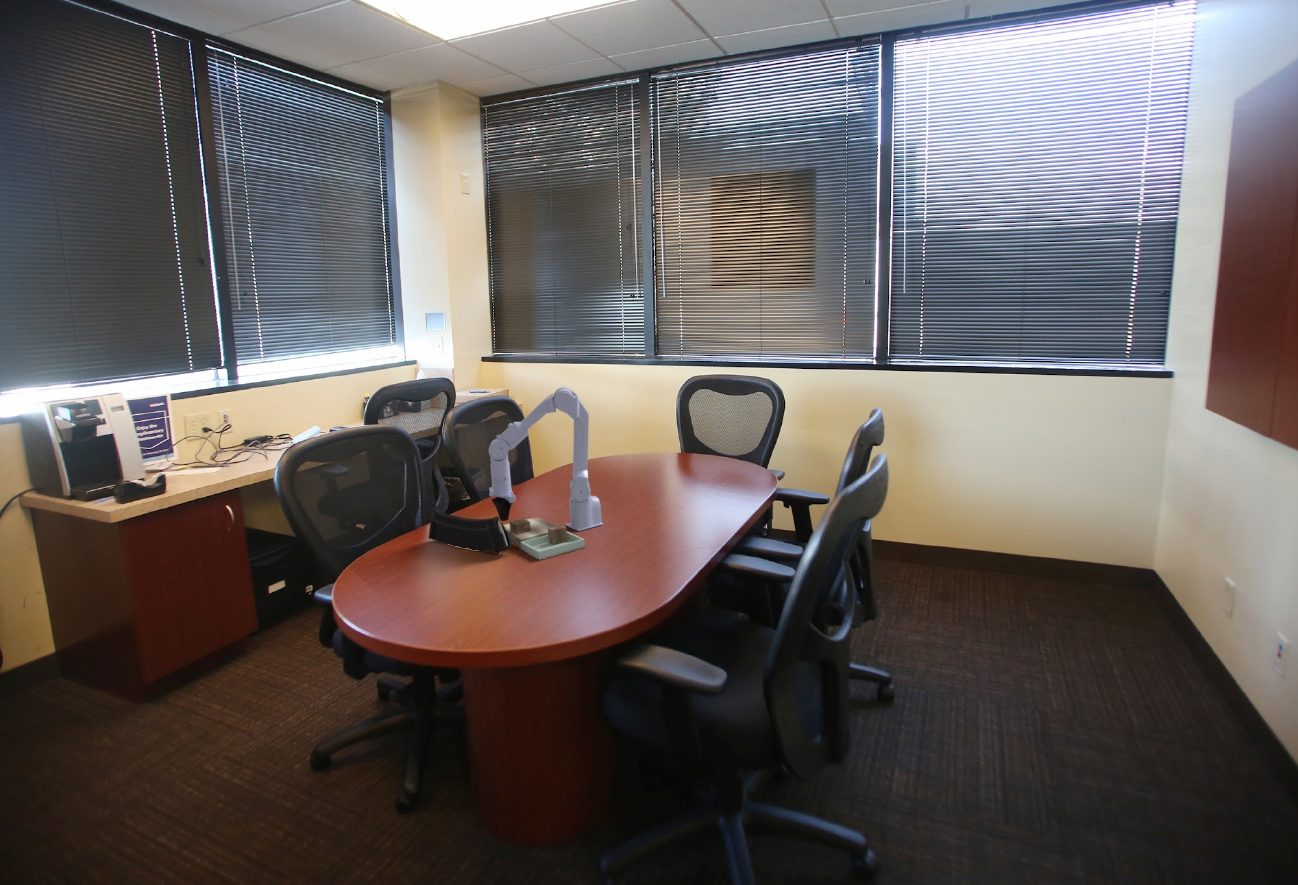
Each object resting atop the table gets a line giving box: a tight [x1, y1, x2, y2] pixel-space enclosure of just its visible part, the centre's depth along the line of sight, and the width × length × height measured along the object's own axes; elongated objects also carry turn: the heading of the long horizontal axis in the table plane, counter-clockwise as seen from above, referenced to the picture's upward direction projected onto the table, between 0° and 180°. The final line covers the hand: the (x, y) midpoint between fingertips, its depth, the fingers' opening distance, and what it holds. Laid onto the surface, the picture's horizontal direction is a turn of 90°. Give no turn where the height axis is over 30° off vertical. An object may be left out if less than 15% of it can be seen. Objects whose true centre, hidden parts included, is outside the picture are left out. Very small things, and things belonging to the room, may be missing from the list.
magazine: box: [428, 508, 513, 553], centre depth 208 cm, size 17×3×30 cm
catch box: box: [520, 530, 586, 561], centre depth 205 cm, size 15×11×2 cm
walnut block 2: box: [548, 524, 568, 545], centre depth 209 cm, size 4×4×3 cm
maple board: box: [503, 516, 556, 549], centre depth 216 cm, size 14×16×3 cm
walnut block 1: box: [509, 517, 531, 535], centre depth 213 cm, size 4×4×3 cm
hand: (504, 520), depth 221 cm, fingers closed
